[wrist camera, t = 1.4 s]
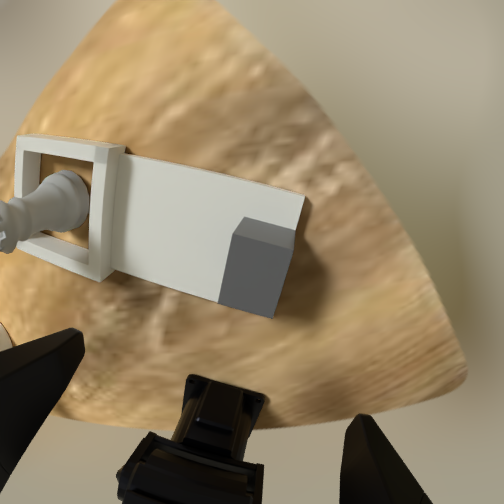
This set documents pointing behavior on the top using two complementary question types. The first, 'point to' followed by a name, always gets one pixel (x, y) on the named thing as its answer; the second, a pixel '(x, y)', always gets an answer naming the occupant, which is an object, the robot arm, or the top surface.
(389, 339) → the top surface
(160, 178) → the grey board with frame
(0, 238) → the rook chess piece
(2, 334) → the cosmetic bottle
